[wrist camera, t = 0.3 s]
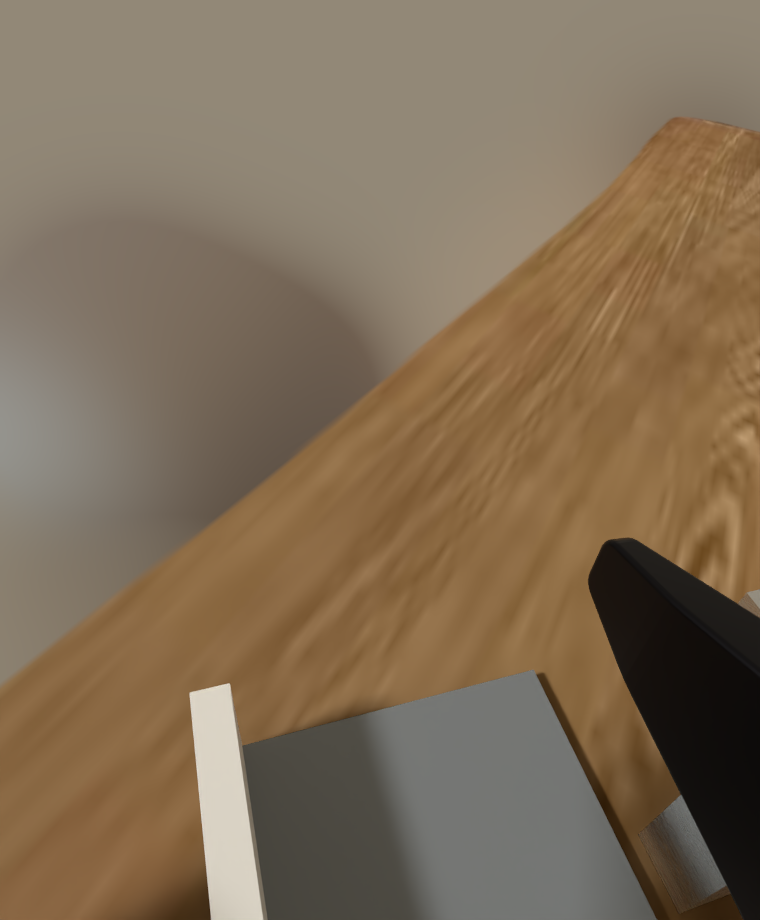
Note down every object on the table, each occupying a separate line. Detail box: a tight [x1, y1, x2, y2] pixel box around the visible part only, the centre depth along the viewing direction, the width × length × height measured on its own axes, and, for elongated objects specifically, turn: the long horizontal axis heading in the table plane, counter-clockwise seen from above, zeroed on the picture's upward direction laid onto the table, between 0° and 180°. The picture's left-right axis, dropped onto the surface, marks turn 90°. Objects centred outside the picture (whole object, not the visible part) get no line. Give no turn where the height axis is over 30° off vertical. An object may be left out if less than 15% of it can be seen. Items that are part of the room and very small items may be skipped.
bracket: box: [638, 589, 760, 914], centre depth 23 cm, size 8×7×6 cm
